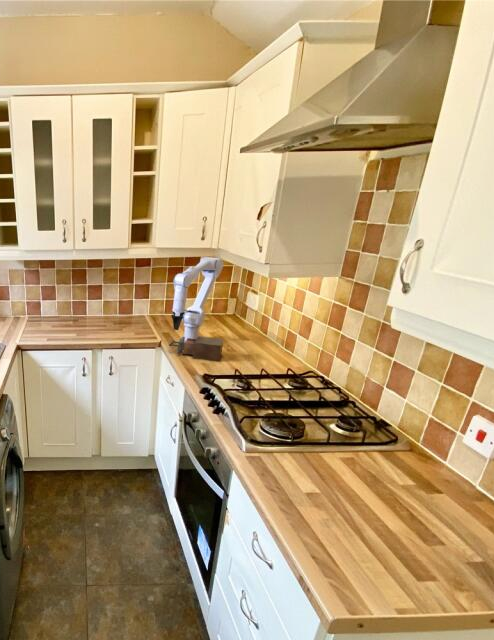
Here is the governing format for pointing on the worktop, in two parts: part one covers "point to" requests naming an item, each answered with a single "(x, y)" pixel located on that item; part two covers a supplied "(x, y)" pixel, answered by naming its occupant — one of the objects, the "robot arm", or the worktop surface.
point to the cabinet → (208, 348)
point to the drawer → (187, 346)
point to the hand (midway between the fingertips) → (176, 328)
